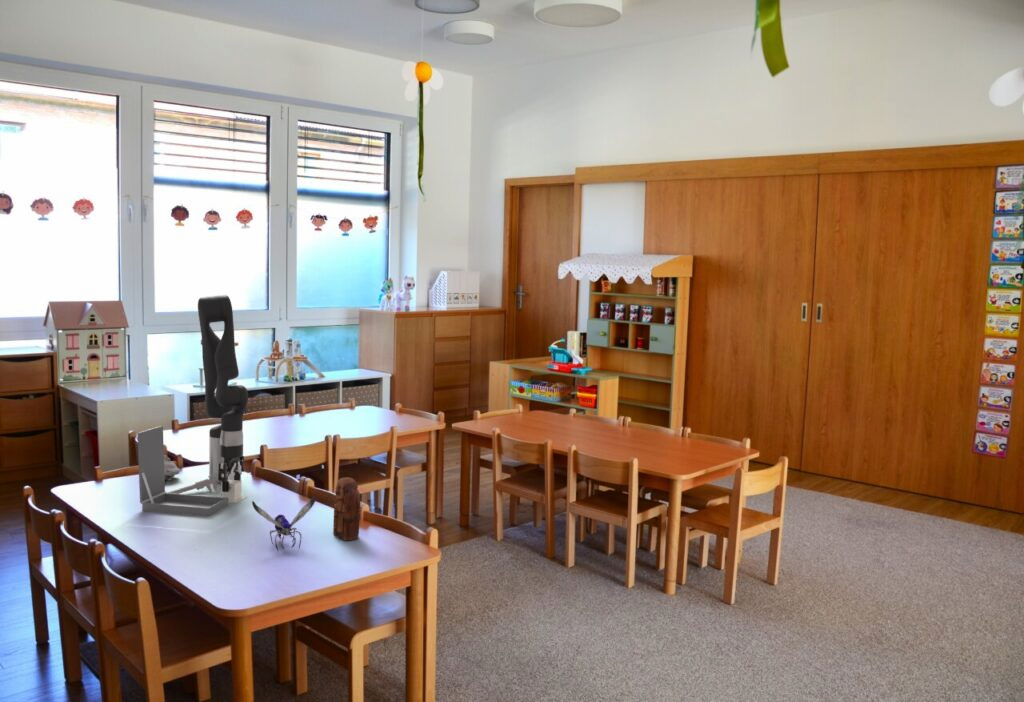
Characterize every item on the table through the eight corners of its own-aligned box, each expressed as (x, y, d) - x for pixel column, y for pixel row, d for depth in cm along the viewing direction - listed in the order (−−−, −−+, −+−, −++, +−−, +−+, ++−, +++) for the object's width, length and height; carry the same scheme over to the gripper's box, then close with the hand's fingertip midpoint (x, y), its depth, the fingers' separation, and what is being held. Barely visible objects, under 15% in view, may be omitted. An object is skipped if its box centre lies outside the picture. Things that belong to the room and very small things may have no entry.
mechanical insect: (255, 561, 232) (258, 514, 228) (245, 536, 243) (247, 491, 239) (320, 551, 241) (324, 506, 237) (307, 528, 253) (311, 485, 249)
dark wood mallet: (327, 532, 254) (328, 475, 253) (346, 528, 258) (347, 473, 257) (344, 542, 245) (345, 484, 243) (363, 539, 249) (365, 481, 247)
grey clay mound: (154, 483, 313) (158, 455, 315) (184, 485, 312) (188, 457, 314) (139, 481, 301) (143, 453, 303) (170, 483, 300) (174, 454, 302)
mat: (225, 496, 289) (225, 494, 289) (247, 498, 288) (247, 496, 288) (214, 502, 281) (214, 500, 281) (236, 504, 280) (236, 502, 280)
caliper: (215, 491, 297) (215, 473, 296) (216, 491, 296) (216, 474, 295) (155, 499, 284) (155, 480, 283) (156, 499, 283) (156, 481, 282)
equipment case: (160, 500, 281) (160, 425, 278) (228, 506, 277) (228, 430, 275) (137, 511, 268) (137, 432, 265) (208, 517, 264) (208, 437, 262)
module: (227, 496, 287) (228, 479, 287) (241, 497, 287) (241, 480, 286) (220, 500, 282) (220, 483, 282) (234, 501, 282) (234, 484, 281)
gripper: (231, 438, 290) (231, 482, 292) (211, 446, 276) (211, 493, 278) (251, 439, 289) (251, 484, 291) (232, 447, 275) (231, 494, 277)
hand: (231, 488), depth 284 cm, fingers open, 8 cm apart
